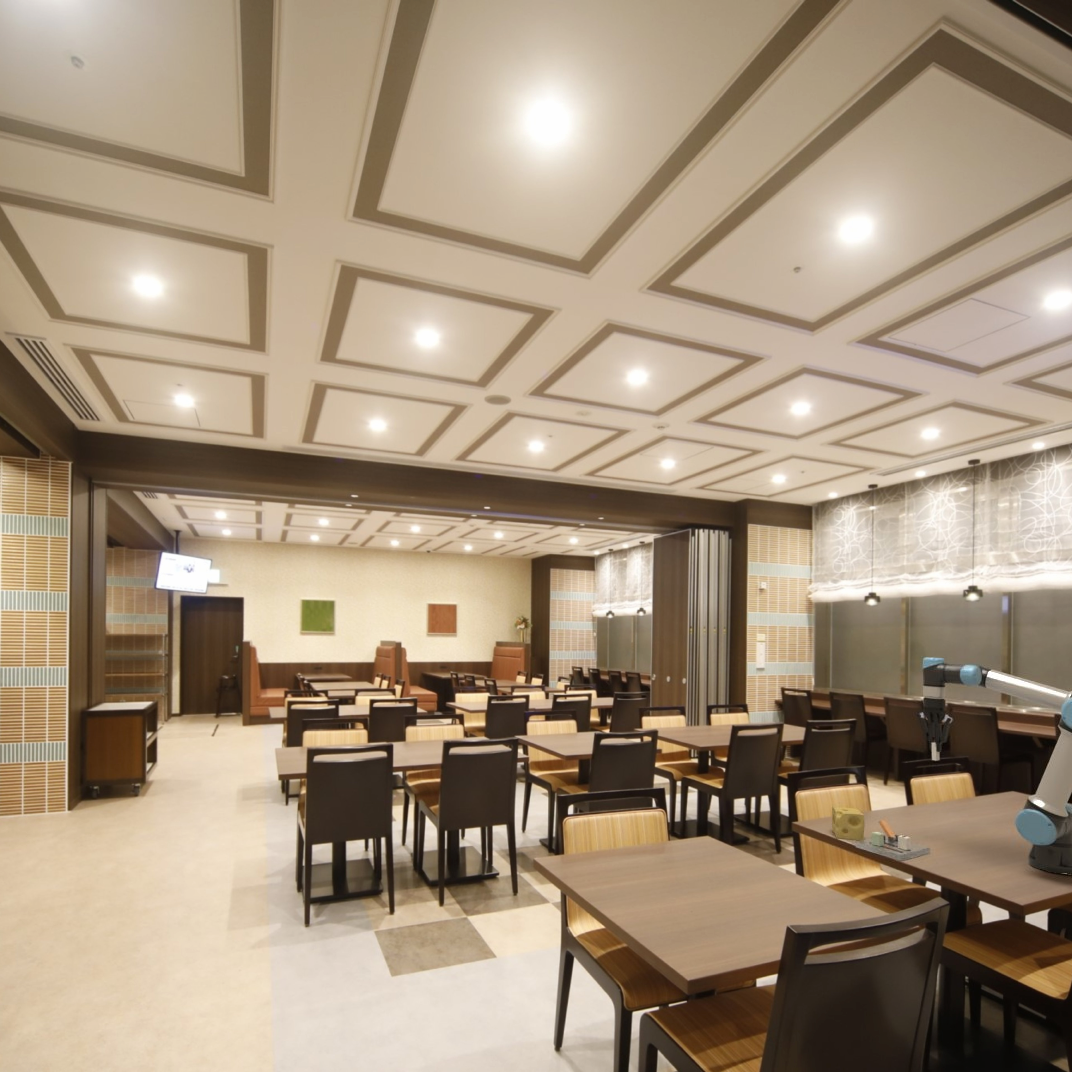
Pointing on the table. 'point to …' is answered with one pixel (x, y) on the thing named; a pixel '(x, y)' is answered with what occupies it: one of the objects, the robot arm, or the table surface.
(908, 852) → the panel
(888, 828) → the lever orange
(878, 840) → the slider sage
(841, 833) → the cheese
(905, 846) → the slider ivory
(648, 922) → the table surface
